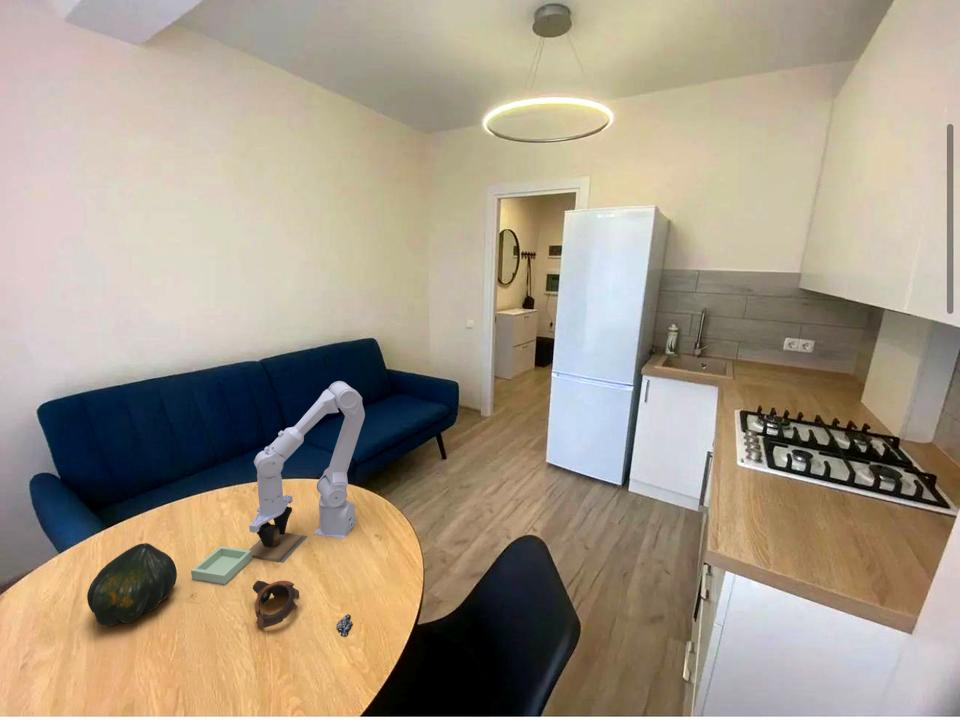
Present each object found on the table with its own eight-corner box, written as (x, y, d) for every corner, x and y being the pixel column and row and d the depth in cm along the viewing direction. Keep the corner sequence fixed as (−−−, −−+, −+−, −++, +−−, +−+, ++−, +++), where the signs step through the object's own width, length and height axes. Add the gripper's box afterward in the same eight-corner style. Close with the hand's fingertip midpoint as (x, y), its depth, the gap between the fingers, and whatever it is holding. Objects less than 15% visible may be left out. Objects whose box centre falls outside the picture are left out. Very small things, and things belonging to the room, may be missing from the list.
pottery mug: (312, 599, 91) (306, 586, 86) (282, 643, 85) (273, 633, 79) (271, 575, 94) (262, 562, 89) (239, 617, 87) (227, 605, 82)
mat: (308, 537, 112) (308, 536, 112) (283, 564, 101) (283, 562, 101) (270, 531, 114) (270, 530, 114) (241, 557, 103) (241, 556, 103)
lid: (302, 537, 111) (301, 521, 110) (279, 562, 101) (278, 544, 100) (270, 533, 113) (269, 517, 112) (245, 556, 103) (243, 539, 102)
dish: (252, 560, 102) (251, 550, 102) (225, 586, 93) (224, 575, 93) (222, 555, 103) (220, 545, 103) (192, 581, 95) (190, 570, 94)
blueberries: (362, 611, 89) (362, 603, 89) (365, 638, 82) (364, 630, 81) (330, 619, 87) (330, 611, 86) (330, 648, 79) (330, 640, 79)
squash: (52, 622, 77) (106, 562, 77) (101, 570, 91) (147, 520, 92) (123, 651, 81) (174, 594, 82) (160, 598, 95) (203, 550, 96)
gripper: (275, 479, 111) (278, 522, 114) (236, 507, 97) (241, 555, 100) (298, 482, 110) (300, 525, 113) (262, 511, 96) (266, 559, 99)
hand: (274, 539), depth 107 cm, fingers open, 5 cm apart
